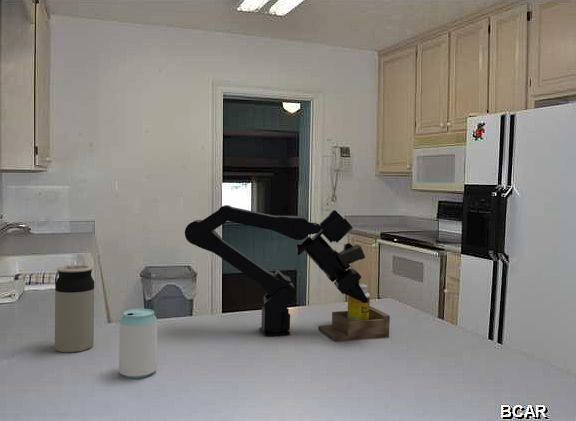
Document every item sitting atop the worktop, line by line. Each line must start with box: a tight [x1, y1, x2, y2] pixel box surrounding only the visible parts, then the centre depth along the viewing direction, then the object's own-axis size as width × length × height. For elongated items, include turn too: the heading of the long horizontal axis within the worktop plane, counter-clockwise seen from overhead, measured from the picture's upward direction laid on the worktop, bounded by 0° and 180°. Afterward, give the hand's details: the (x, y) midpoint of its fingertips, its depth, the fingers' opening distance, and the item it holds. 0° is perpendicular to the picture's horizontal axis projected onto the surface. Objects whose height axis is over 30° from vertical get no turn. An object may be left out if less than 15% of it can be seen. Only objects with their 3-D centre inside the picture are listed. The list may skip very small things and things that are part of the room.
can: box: [118, 308, 159, 379], centre depth 97 cm, size 7×7×12 cm
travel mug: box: [54, 264, 95, 354], centre depth 110 cm, size 8×8×18 cm
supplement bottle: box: [347, 283, 371, 321], centre depth 128 cm, size 6×6×10 cm
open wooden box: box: [317, 305, 391, 342], centre depth 128 cm, size 15×10×6 cm
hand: (364, 299), depth 128 cm, fingers closed on supplement bottle, 6 cm apart
